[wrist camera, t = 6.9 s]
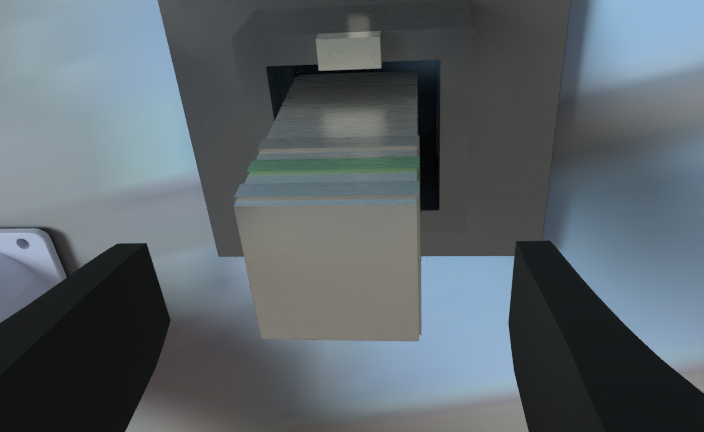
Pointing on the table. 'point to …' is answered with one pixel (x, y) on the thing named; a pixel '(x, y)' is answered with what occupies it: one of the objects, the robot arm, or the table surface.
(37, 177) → the table surface
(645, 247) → the table surface
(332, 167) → the column
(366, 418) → the table surface
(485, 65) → the stand base
